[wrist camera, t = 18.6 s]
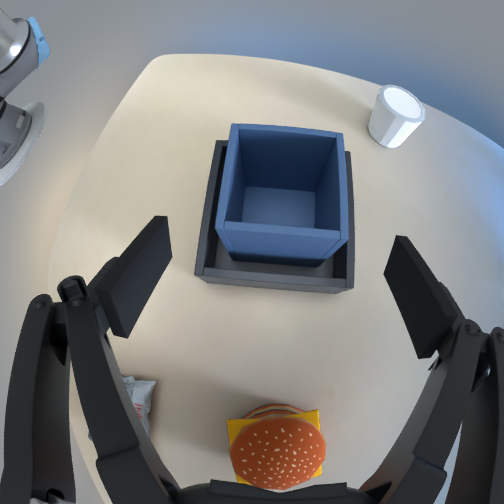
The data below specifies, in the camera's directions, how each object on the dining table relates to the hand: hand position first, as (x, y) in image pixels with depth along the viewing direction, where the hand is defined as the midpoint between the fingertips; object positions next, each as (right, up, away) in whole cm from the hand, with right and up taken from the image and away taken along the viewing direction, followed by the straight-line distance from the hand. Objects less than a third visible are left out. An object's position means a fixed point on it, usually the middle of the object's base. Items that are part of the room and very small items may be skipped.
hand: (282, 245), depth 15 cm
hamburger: (+1, -21, +10) cm, 23 cm away
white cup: (+18, +17, +18) cm, 30 cm away
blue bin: (+1, +3, +15) cm, 15 cm away
